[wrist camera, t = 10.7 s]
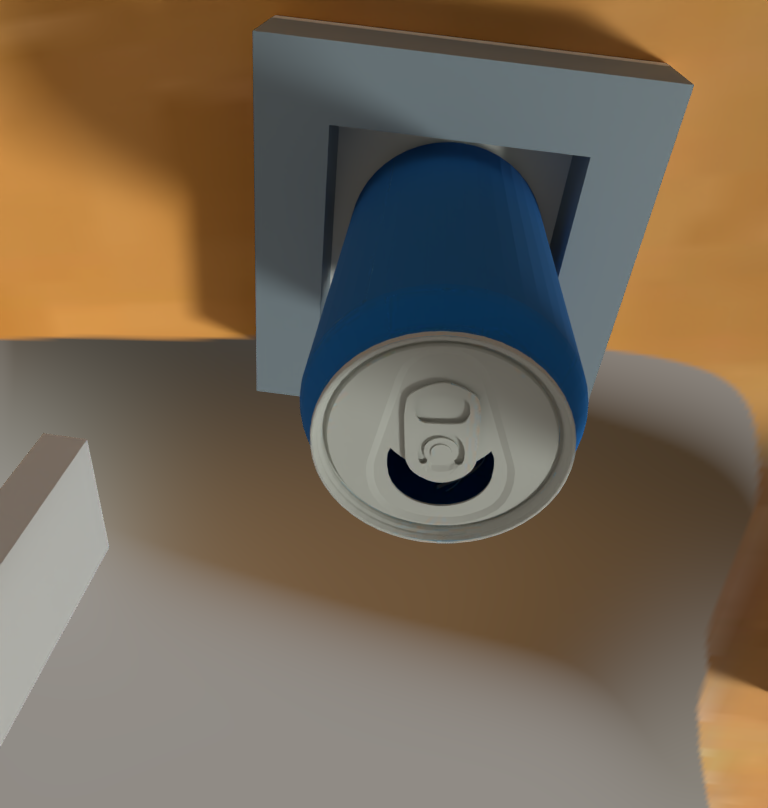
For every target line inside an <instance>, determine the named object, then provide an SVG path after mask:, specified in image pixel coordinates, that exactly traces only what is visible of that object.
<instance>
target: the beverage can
mask: <svg viewBox="0 0 768 808" xmlns="http://www.w3.org/2000/svg"><path fill="white" fill-rule="evenodd" d="M300 411H301V417H302V422H303V427H304V430H305V433H306V436H307V439H308V441H309V444H310V448H311V454H312V458H313V462H314V465H315V468H316V471H317V473H318V475H319V477H320V479H321V480H322V482H323V484H324V486H325V487H326V488H327V490H328V491H329V492H330V494H331V495H332V496H333V497H334V498H335V499H336V500H337V501H338V503H339V504H340V505H341V506H342V507H344V508H345V509H346V510H347V511H349V512H350V513H351V514H352V515H354V516H355V517H357V518H359V519H360V520H361V521H363V522H364V523H366V524H368V525H370V526H372V527H375V528H376V529H378V530H381V531H383V532H386V533H388V534H391V535H394V536H398V537H401V538H405V539H409V540H415V541H421V542H430V543H460V542H469V541H475V540H480V539H485V538H488V537H492V536H495V535H498V534H501V533H504V532H506V531H509V530H511V529H513V528H515V527H517V526H519V525H521V524H523V523H525V522H526V521H528V520H529V519H530V518H532V517H534V516H535V515H536V514H538V513H539V512H540V511H541V510H542V509H543V508H545V507H546V506H547V505H548V504H549V503H550V502H551V501H552V500H553V498H554V497H555V496H556V495H557V494H558V492H559V491H560V489H561V488H562V486H563V485H564V483H565V482H566V480H567V477H568V475H569V473H570V471H571V468H572V465H573V461H574V457H575V451H576V449H577V447H578V445H579V443H580V440H581V438H582V436H583V432H584V428H585V424H586V421H587V412H588V387H587V383H586V378H585V374H584V370H583V366H582V363H581V359H580V356H579V352H578V348H577V345H576V341H575V337H574V334H573V330H572V327H571V323H570V319H569V316H568V312H567V308H566V305H565V301H564V297H563V294H562V290H561V287H560V283H559V279H558V276H557V272H556V268H555V265H554V261H553V258H552V254H551V250H550V247H549V243H548V239H547V236H546V232H545V228H544V225H543V221H542V218H541V214H540V210H539V207H538V204H537V201H536V199H535V196H534V194H533V192H532V190H531V188H530V187H529V185H528V183H527V182H526V181H525V179H524V178H523V177H522V176H521V174H520V173H519V172H518V171H517V170H516V169H515V168H514V167H513V166H512V165H511V164H509V163H508V162H507V161H505V160H504V159H502V158H501V157H500V156H498V155H496V154H494V153H492V152H490V151H488V150H486V149H483V148H480V147H477V146H474V145H470V144H465V143H457V142H438V143H431V144H426V145H421V146H418V147H415V148H412V149H409V150H407V151H405V152H403V153H401V154H399V155H397V156H395V157H394V158H392V159H391V160H390V161H388V162H387V163H385V164H384V165H383V166H382V167H381V168H380V169H379V170H377V171H376V172H375V173H374V175H373V176H372V177H371V178H370V179H369V181H368V182H367V183H366V185H365V186H364V188H363V190H362V191H361V193H360V195H359V197H358V199H357V202H356V204H355V207H354V210H353V214H352V217H351V220H350V223H349V227H348V230H347V233H346V236H345V240H344V243H343V246H342V249H341V253H340V256H339V259H338V262H337V266H336V269H335V272H334V275H333V279H332V282H331V285H330V289H329V292H328V295H327V298H326V302H325V305H324V308H323V311H322V315H321V318H320V321H319V324H318V328H317V331H316V334H315V337H314V341H313V344H312V347H311V350H310V354H309V357H308V360H307V364H306V367H305V370H304V373H303V377H302V381H301V389H300Z"/></svg>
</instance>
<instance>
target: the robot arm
mask: <svg viewBox="0 0 768 808" xmlns="http://www.w3.org/2000/svg"><path fill="white" fill-rule="evenodd" d="M108 549H109V544H108V539H107V535H106V529H105V525H104V519H103V515H102V510H101V505H100V500H99V496H98V490H97V486H96V481H95V476H94V471H93V466H92V461H91V456H90V451H89V446H88V441H87V439H80V438H72V437H66V436H59V435H51V434H45V433H43V434H42V436H41V437H40V438H39V440H38V441H37V442H36V443H35V445H34V446H33V447H32V449H31V450H30V451H29V452H28V454H27V455H26V456H25V458H24V459H23V460H22V461H21V463H20V464H19V465H18V467H17V468H16V469H15V471H14V472H13V473H12V474H11V476H10V477H9V478H8V479H7V481H6V482H5V483H4V485H3V486H2V487H1V489H0V747H1V745H2V743H3V741H4V739H5V737H6V735H7V734H8V732H9V730H10V728H11V726H12V725H13V723H14V721H15V719H16V717H17V715H18V714H19V712H20V710H21V708H22V706H23V704H24V703H25V701H26V699H27V697H28V695H29V693H30V691H31V690H32V688H33V686H34V684H35V682H36V681H37V679H38V677H39V675H40V673H41V671H42V669H43V668H44V666H45V664H46V662H47V660H48V659H49V657H50V655H51V653H52V651H53V649H54V647H55V646H56V644H57V642H58V640H59V638H60V637H61V635H62V633H63V631H64V629H65V627H66V626H67V624H68V622H69V620H70V618H71V616H72V615H73V613H74V611H75V609H76V607H77V605H78V604H79V602H80V600H81V598H82V596H83V594H84V593H85V591H86V589H87V587H88V585H89V583H90V581H91V580H92V578H93V576H94V574H95V573H96V571H97V569H98V567H99V565H100V563H101V562H102V560H103V558H104V556H105V554H106V552H107V551H108Z"/></svg>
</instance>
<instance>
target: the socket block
mask: <svg viewBox="0 0 768 808" xmlns="http://www.w3.org/2000/svg"><path fill="white" fill-rule="evenodd" d="M693 86H694V85H693V84H692V83H691V82H690V81H688V80H687V79H686V78H685V77H683V76H682V75H681V74H680V73H678V72H677V71H676V70H675V69H673V68H672V67H671V66H670V65H668V64H667V63H661V62H653V61H645V60H637V59H629V58H620V57H612V56H604V55H596V54H588V53H580V52H572V51H564V50H555V49H547V48H539V47H531V46H523V45H515V44H507V43H498V42H490V41H482V40H474V39H466V38H458V37H450V36H442V35H433V34H425V33H417V32H409V31H401V30H393V29H385V28H376V27H368V26H360V25H352V24H344V23H336V22H328V21H319V20H311V19H303V18H295V17H287V16H279V15H275V16H273V17H272V18H270V19H269V20H267V21H266V22H264V23H263V24H262V25H260V26H259V27H257V28H256V29H254V30H253V106H254V192H255V278H256V356H257V357H256V359H257V360H256V363H257V391H264V392H271V393H279V394H286V395H295V396H300V389H301V381H302V377H303V373H304V370H305V367H306V364H307V360H308V357H309V354H310V350H311V347H312V344H313V341H314V337H315V334H316V331H317V328H318V324H319V321H320V318H321V315H322V311H323V308H324V305H325V302H326V298H327V295H328V292H329V289H330V285H331V282H332V279H333V275H334V272H335V269H336V266H337V262H338V259H339V256H340V253H341V249H342V246H343V243H344V240H345V236H346V233H347V230H348V227H349V223H350V220H351V217H352V214H353V210H354V207H355V204H356V202H357V199H358V197H359V195H360V193H361V191H362V190H363V188H364V186H365V185H366V183H367V182H368V181H369V179H370V178H371V177H372V176H373V175H374V173H375V172H376V171H377V170H379V169H380V168H381V167H382V166H383V165H384V164H385V163H387V162H388V161H390V160H391V159H392V158H394V157H395V156H397V155H399V154H401V153H403V152H405V151H407V150H409V149H412V148H415V147H418V146H421V145H426V144H431V143H438V142H457V143H465V144H470V145H474V146H477V147H480V148H483V149H486V150H488V151H490V152H492V153H494V154H496V155H498V156H500V157H501V158H502V159H504V160H505V161H507V162H508V163H509V164H511V165H512V166H513V167H514V168H515V169H516V170H517V171H518V172H519V173H520V174H521V176H522V177H523V178H524V179H525V181H526V182H527V183H528V185H529V187H530V188H531V190H532V192H533V194H534V196H535V199H536V201H537V204H538V207H539V210H540V214H541V218H542V221H543V225H544V228H545V232H546V236H547V239H548V243H549V247H550V250H551V254H552V258H553V261H554V265H555V268H556V272H557V276H558V279H559V283H560V287H561V290H562V294H563V297H564V301H565V305H566V308H567V312H568V316H569V319H570V323H571V327H572V330H573V334H574V337H575V341H576V345H577V348H578V352H579V356H580V359H581V363H582V366H583V370H584V374H585V378H586V383H587V387H588V400H589V397H590V394H591V391H592V388H593V385H594V382H595V379H596V376H597V373H598V370H599V367H600V364H601V361H602V358H603V355H604V352H605V349H606V346H607V343H608V340H609V337H610V334H611V331H612V328H613V325H614V322H615V319H616V316H617V313H618V311H619V308H620V305H621V302H622V299H623V296H624V293H625V290H626V287H627V284H628V281H629V278H630V275H631V272H632V269H633V266H634V263H635V260H636V257H637V254H638V251H639V248H640V245H641V242H642V239H643V236H644V233H645V230H646V227H647V224H648V221H649V218H650V215H651V212H652V209H653V206H654V203H655V200H656V197H657V194H658V191H659V188H660V185H661V182H662V179H663V176H664V173H665V170H666V167H667V164H668V161H669V158H670V155H671V152H672V149H673V146H674V143H675V140H676V137H677V134H678V131H679V128H680V125H681V122H682V119H683V116H684V113H685V110H686V107H687V104H688V101H689V98H690V95H691V92H692V89H693Z"/></svg>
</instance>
